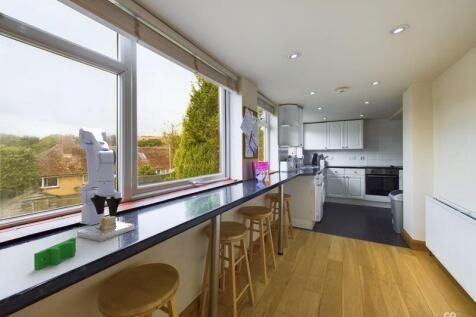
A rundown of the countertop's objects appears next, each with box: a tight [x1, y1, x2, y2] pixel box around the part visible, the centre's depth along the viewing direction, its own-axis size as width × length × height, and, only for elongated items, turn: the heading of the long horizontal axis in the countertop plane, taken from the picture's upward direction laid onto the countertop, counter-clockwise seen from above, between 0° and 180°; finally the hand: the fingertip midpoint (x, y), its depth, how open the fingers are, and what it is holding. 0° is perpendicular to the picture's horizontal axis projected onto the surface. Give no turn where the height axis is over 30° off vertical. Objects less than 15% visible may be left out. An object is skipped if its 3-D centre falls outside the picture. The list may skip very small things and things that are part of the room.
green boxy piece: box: [33, 237, 77, 271], centre depth 60 cm, size 11×4×5 cm, turn 173°
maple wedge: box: [98, 215, 117, 231], centre depth 83 cm, size 4×4×6 cm
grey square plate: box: [76, 221, 135, 243], centre depth 82 cm, size 14×14×2 cm
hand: (106, 215), depth 83 cm, fingers open, 7 cm apart
